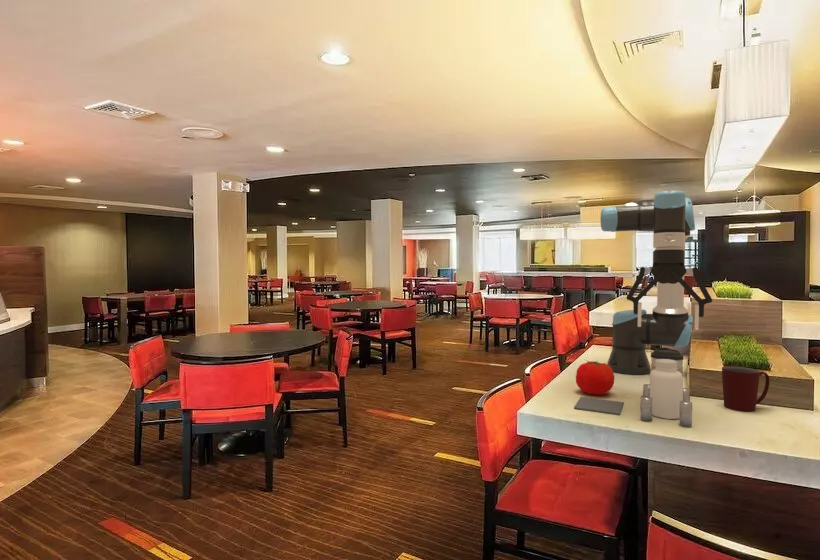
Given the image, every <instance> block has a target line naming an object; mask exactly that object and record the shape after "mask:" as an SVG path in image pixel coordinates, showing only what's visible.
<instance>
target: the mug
mask: <svg viewBox="0 0 820 560" xmlns="http://www.w3.org/2000/svg"><path fill="white" fill-rule="evenodd" d="M761 376H764V377H765V384H764V387H763V392H762V393H761V395H760V396H759V398H758V393H759V386H760V377H761ZM721 378H722V379H721V382H722V393H723V394H722V395H723V406H724V407H725V408H727V409H730V410H734V411H738V412H739V411H740V412H755V411H756V408H757V405H758V404H760V403H762V402H763V401H764V399H766V396H767V395H768V391H769V388H770V377H769V374H768V373H767V372H765V371H760V370H758V369H755V368H751V367H744V366H735V365H733V366H732V365H728V366H727V365H726V366H722V367H721Z"/></svg>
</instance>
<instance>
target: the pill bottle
mask: <svg viewBox="0 0 820 560" xmlns="http://www.w3.org/2000/svg"><path fill="white" fill-rule="evenodd" d="M655 365H656V366H655V367H656V368H657V369H654V370H650V373H649V384H650V397H652V398H653V401H652V416H654V417H656V418H661V419H665V420H666V419H667V420H677V419H678V420H679V408H680V401H683V388H684V376H683V373H682V374H681V373H680V372H679V371H677V361H675V360H670V359H657V360H655Z"/></svg>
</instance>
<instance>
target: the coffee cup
mask: <svg viewBox="0 0 820 560" xmlns="http://www.w3.org/2000/svg"><path fill="white" fill-rule="evenodd" d="M650 358H651V359H650V360H651V361H650V362H651V364H650V371H652V370H654V369H657V368H656V367H655V366H656V365H655V360H657V359H670V360H675V361H677V371H679V372H680V373H681V374H682V375H683V368H684V366H683V363H684V361H683V360H684V355H683V354H682V353H681V351H680V350H677V349H671V348H668V347H666V346H661V347H658V348H655V349H654V350H653V351H652V352H651V353H650Z"/></svg>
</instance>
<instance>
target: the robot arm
mask: <svg viewBox="0 0 820 560" xmlns="http://www.w3.org/2000/svg"><path fill="white" fill-rule="evenodd" d="M600 228H601V230H602V231H603V232H611V233H614V232H634V231H636V232H647V233H648V232H649V233H650V232H652V233H653V234H652V238H653V239H652V241H653V242H652V244H653V245H652V246H653V248H654V250H653V251H652V266H651V268H649V267H644V266H641V267H640V268H639V274H638V276H637V277H636V280H635V282H634V283H633V285H632V287H631V289H630V291H629V292H628V294H627V295H626V300H627V301H630V302H632V303H633V309H629V310H628V309H626V310H620V311H617V312H614V313H613V315H612V324H611V326H612V342H611V343H612V344H611V345H612V346H611V347H612V349H611V352H610V355H609V357H608V360H607V362H606V364H607V365H609V366H610V367H611V369H612V371H613V373H619V374H624V375H636V376H637V375H639V376H640V375H648V374H650V373H651V364H650V362H649V357H648V356H647V353H646V351H647V350H646V345H650V346H661V347H672V348H675V347H676V348H679V347H680V348H681V347H682V348H685V347H686V346H688V345H689V343H690V341H691V340H690V338H691V336H692V330H693V329H692V328H693V321H694V330H696V331H699V326H700V325H699V324H700V323H699V321H700V320H699V319H700V318H703V317H704V316H705V305H707V304H710V303H712V302H713V298H712V296H710V293H709V291H708V288H706V286H705V284H704V282H703V281H702V279H701V277H700V275H699V274H700V273H699V269H698V267H697V266H693V267H689V268H686V266H685V264H686V263H685V261H686V260H685V259H686V258H685V257H686V255H685V254H686V240H687V239H688V238H689V237H690V236H691V232H692V231H695V230H696V225H695V215H694V208H693V201H692V200H691V198H689V197H686V193H685V192H684V191H683V190H664V191H659V192H656V193H654V197H653V199H652V198H651V199H642V200H641V199H640V200H635V201H631V202H629V203H624V204H622V205H617V206H616V205H611V206H605V207H603V208H601V211H600ZM649 273H650V274H652V276H653V277H654V278H653V279H652V280H650V282H649V283H648V284H647V286H645V287H644V288H643V289H642V290H641V291H640V292H638V294H637V295H636V296H634V295H635V294H636V292H637V289H638V288H639V287H640V285H641V283H642V280H643V279H644V278H645V276H647V275H648V274H649ZM687 273H688V274H689V276H691V277H693V279H694V281H695V283H696V285H697V287H698V288H699V290H700V291H701V293H702V296H703V299H702V298H701V296H699V295H698V294H697V292H696V291H695V290H694V289H693V288H692V287H691V286H690V285H689V284H688V283H687V282H686V281H685V275H686V274H687ZM655 285H657V290H656V291H657V292H656V294H657V295H656V299H657V300H656V306H654V308H652V313H647V310H646V309H642V306H643V305H642V302H640V300H641V299H642V298H643V297H644V296H645V295H646V294H648V292H649V291H650V290H651V289H652V288H653V287H654V286H655ZM685 290H686V292H687V293H688V294H689V295H690V296H691V297H692V298H693V299H694V300H695V301H696V302H697V303H698V304H695V305H694V317H693V315H690V314H689V309H688V308H686V307H685V306H684V305H685ZM693 319H694V320H693Z"/></svg>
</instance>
